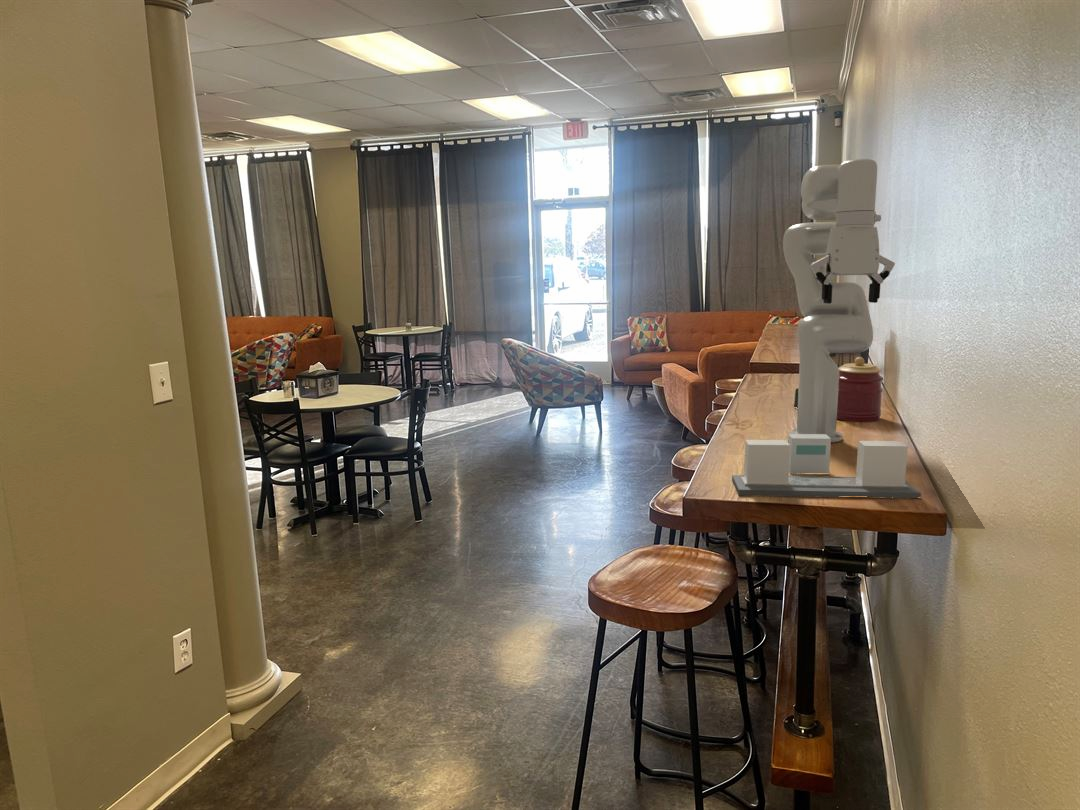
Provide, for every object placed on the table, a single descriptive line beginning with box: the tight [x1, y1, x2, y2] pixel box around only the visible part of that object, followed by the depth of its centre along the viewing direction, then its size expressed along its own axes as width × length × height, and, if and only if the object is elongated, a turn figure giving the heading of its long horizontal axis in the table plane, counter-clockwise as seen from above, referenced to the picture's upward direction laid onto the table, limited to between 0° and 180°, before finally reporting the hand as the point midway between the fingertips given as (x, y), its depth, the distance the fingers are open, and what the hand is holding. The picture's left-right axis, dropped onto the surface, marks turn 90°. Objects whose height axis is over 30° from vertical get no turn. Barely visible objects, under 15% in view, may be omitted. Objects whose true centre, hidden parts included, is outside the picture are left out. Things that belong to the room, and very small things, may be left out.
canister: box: [837, 356, 884, 423], centre depth 208 cm, size 13×13×18 cm
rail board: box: [731, 474, 922, 499], centre depth 146 cm, size 10×34×1 cm, turn 83°
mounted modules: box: [743, 439, 909, 486], centre depth 145 cm, size 4×30×8 cm, turn 83°
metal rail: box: [741, 477, 908, 489], centre depth 146 cm, size 5×31×1 cm, turn 83°
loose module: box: [787, 433, 832, 475], centre depth 158 cm, size 4×8×8 cm, turn 83°
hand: (850, 302), depth 157 cm, fingers open, 9 cm apart
